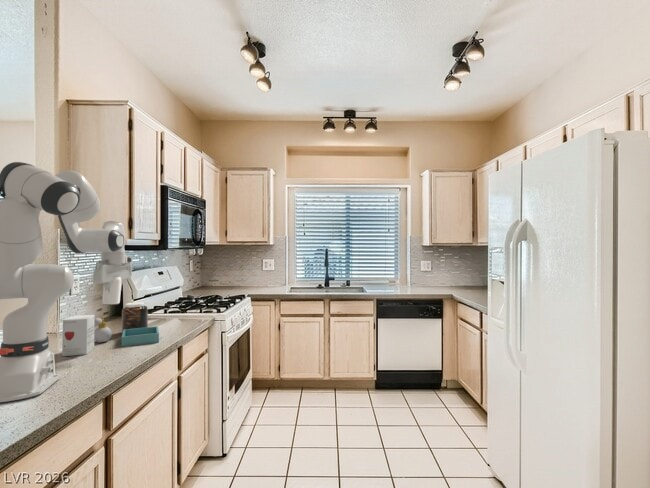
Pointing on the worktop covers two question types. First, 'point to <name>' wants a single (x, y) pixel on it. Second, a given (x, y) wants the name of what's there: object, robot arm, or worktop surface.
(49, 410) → the worktop surface
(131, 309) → the jar
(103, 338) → the perfume bottle
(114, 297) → the can
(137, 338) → the bin
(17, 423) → the worktop surface
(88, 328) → the supplement box
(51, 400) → the worktop surface
